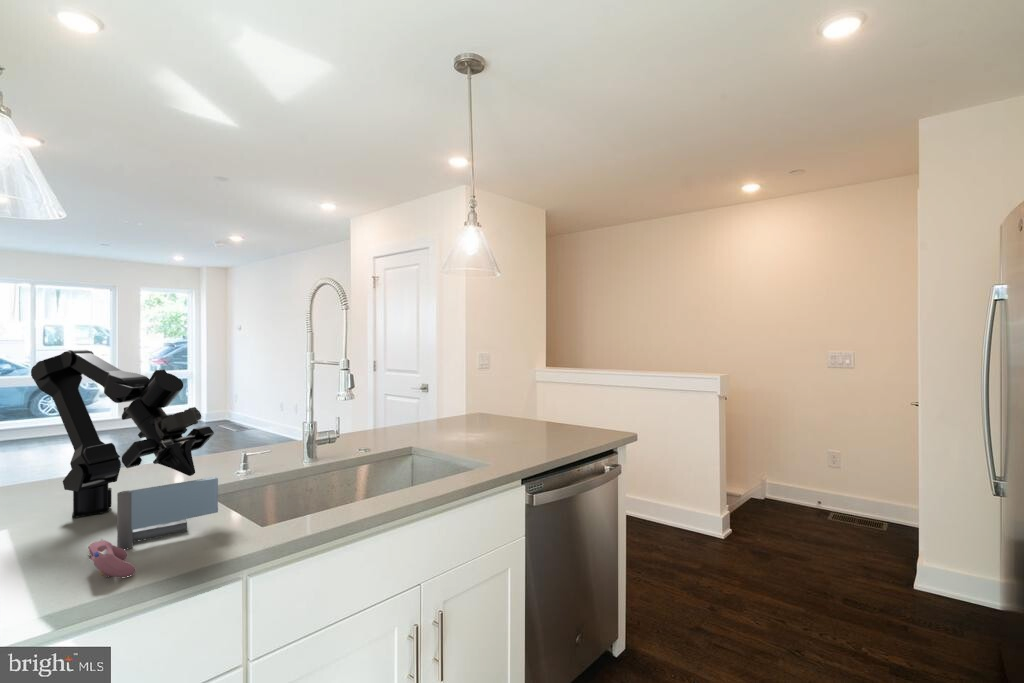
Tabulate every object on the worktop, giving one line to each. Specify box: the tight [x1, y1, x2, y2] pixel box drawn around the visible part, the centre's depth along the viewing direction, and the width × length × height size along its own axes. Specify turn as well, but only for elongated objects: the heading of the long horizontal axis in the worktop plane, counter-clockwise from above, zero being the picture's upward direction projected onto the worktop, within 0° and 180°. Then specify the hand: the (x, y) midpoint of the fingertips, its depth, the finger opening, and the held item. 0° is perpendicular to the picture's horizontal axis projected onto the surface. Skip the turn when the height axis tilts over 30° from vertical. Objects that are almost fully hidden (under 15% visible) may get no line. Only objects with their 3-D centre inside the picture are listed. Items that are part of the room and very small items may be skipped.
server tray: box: [133, 519, 188, 542], centre depth 111 cm, size 11×18×2 cm, turn 37°
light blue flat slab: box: [116, 476, 219, 550], centre depth 104 cm, size 17×2×11 cm, turn 133°
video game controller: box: [86, 538, 136, 579], centre depth 88 cm, size 10×5×7 cm, turn 45°
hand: (192, 474), depth 110 cm, fingers closed
